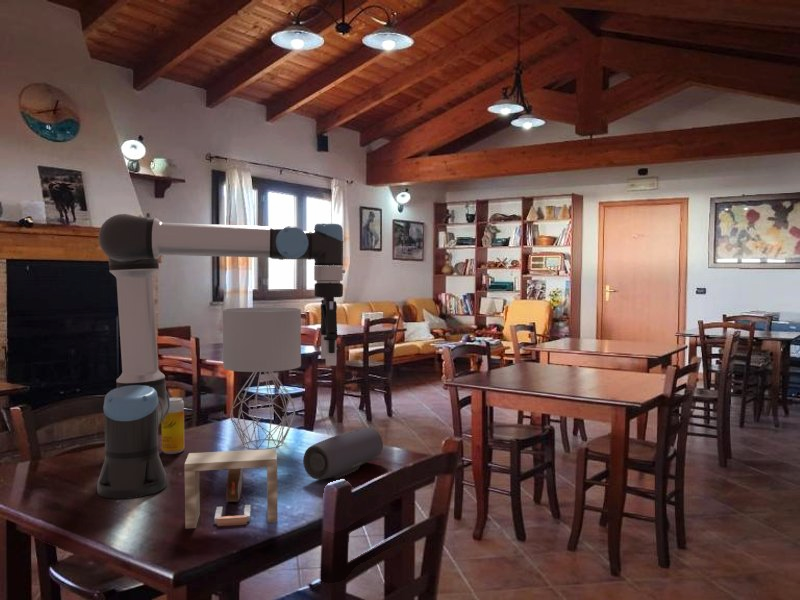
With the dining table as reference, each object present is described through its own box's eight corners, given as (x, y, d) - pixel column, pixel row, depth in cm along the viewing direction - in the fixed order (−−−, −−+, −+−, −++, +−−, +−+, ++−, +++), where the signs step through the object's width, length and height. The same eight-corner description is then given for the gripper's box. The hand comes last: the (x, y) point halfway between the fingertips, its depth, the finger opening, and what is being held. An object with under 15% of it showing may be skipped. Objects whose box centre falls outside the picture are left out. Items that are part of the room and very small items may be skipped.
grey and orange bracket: (214, 526, 134) (213, 519, 134) (216, 512, 141) (216, 505, 141) (249, 524, 135) (249, 516, 135) (250, 510, 143) (250, 503, 143)
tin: (231, 486, 159) (231, 451, 159) (245, 485, 160) (245, 450, 159) (225, 508, 144) (224, 469, 144) (240, 507, 145) (239, 469, 144)
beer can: (158, 451, 189) (157, 398, 189) (178, 447, 194) (178, 396, 193) (167, 455, 185) (166, 402, 184) (188, 451, 189) (187, 399, 188)
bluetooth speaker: (356, 459, 182) (356, 423, 181) (384, 464, 177) (384, 427, 176) (301, 481, 163) (300, 440, 162) (331, 488, 158) (331, 446, 157)
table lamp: (211, 443, 199) (209, 309, 197) (277, 431, 213) (276, 306, 211) (245, 459, 181) (244, 312, 180) (315, 445, 196) (315, 309, 194)
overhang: (185, 528, 132) (184, 464, 132) (189, 514, 140) (189, 453, 140) (277, 522, 136) (277, 459, 136) (276, 508, 144) (276, 448, 143)
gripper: (348, 283, 165) (348, 368, 166) (337, 281, 190) (337, 355, 191) (318, 282, 164) (318, 368, 165) (311, 281, 188) (310, 356, 189)
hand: (328, 362), depth 178 cm, fingers open, 13 cm apart
